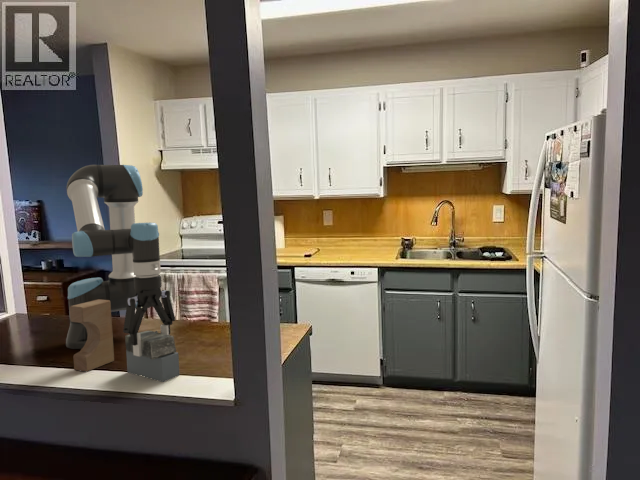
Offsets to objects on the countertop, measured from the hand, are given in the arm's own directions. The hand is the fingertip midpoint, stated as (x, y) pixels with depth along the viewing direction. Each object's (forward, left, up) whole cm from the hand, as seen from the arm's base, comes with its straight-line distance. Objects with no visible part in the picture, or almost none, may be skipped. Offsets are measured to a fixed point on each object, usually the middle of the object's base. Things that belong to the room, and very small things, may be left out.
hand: (151, 350), depth 144 cm
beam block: (0, 0, -7) cm, 7 cm away
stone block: (0, 0, 0) cm, 0 cm away
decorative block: (-23, -4, -7) cm, 24 cm away
